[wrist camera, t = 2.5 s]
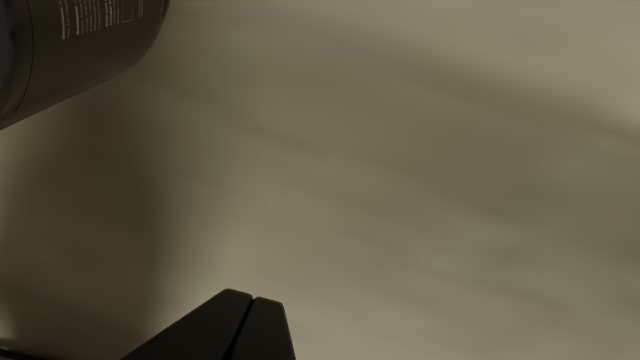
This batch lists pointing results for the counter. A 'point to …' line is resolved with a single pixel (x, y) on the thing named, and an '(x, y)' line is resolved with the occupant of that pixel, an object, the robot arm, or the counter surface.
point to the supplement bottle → (67, 48)
